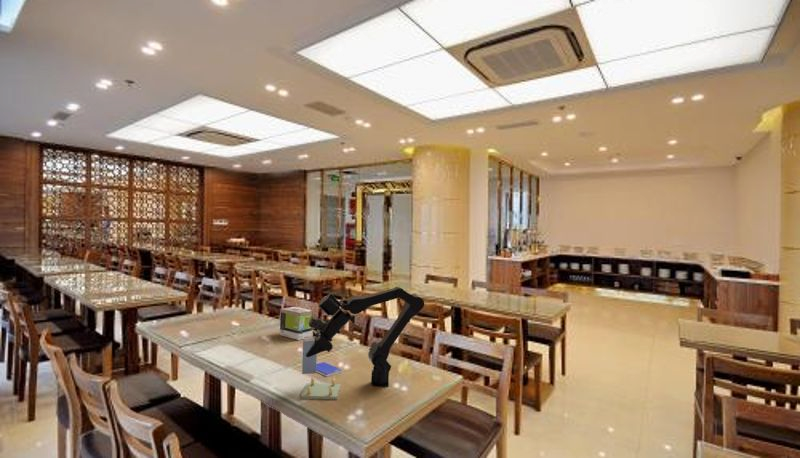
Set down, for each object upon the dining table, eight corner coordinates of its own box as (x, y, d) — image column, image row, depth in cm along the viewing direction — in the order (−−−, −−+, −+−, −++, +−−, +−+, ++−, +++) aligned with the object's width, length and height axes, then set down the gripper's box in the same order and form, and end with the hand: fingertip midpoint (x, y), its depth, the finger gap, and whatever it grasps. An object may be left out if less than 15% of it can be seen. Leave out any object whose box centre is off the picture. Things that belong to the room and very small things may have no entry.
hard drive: (342, 369, 166) (324, 361, 175) (326, 374, 160) (309, 365, 169) (342, 373, 166) (324, 365, 175) (326, 377, 160) (309, 369, 169)
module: (316, 368, 151) (317, 335, 150) (315, 373, 146) (316, 339, 146) (303, 368, 150) (303, 336, 150) (302, 374, 145) (302, 340, 145)
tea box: (312, 336, 214) (313, 309, 214) (298, 340, 206) (299, 312, 205) (292, 331, 222) (294, 305, 222) (278, 335, 214) (280, 308, 213)
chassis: (340, 386, 151) (340, 377, 151) (337, 399, 140) (337, 389, 140) (306, 385, 150) (306, 376, 150) (300, 398, 140) (301, 388, 139)
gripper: (319, 304, 157) (290, 333, 154) (324, 315, 140) (291, 348, 137) (338, 322, 160) (310, 351, 157) (345, 335, 142) (313, 368, 139)
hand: (306, 354), depth 147 cm, fingers closed on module, 5 cm apart
